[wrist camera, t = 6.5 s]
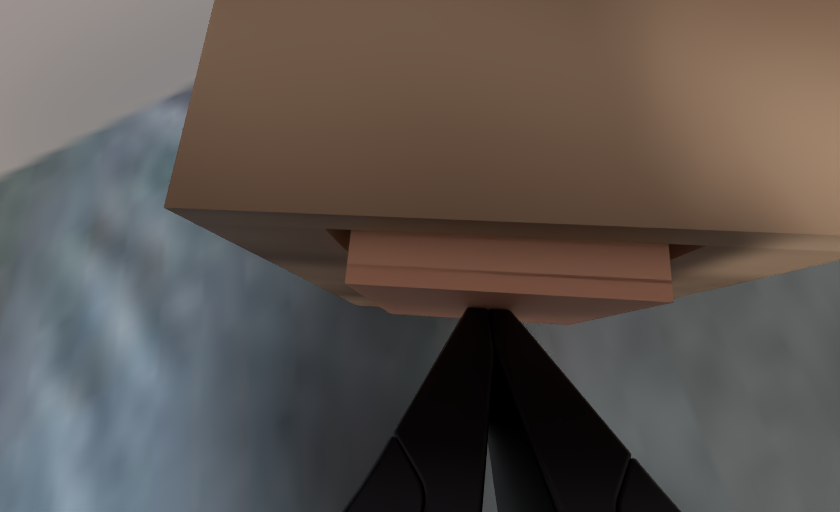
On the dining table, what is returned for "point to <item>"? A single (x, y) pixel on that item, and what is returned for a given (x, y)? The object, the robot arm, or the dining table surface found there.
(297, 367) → the dining table surface
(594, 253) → the peg
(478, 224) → the sleeve block
